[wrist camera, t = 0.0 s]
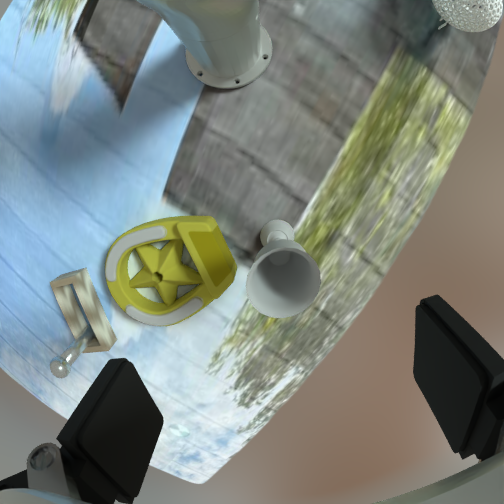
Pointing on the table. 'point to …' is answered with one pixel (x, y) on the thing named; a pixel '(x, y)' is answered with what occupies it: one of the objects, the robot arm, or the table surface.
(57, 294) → the link
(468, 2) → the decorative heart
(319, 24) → the table surface
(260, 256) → the chalice
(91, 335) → the silver metal pin
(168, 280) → the yellow-green spoked oval frame
